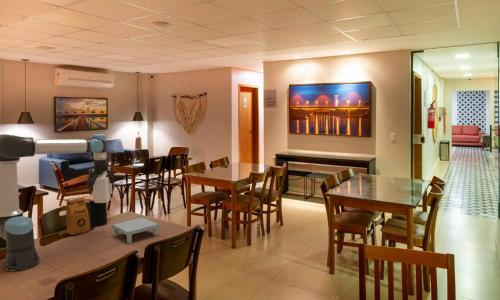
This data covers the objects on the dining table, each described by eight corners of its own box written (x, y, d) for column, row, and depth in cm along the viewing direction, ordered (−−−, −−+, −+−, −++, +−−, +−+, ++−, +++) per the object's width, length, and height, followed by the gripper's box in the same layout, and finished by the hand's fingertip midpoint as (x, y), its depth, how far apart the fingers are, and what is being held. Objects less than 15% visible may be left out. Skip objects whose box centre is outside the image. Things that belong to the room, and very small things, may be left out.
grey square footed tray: (128, 243, 209) (127, 232, 208) (112, 235, 223) (112, 224, 222) (159, 235, 223) (158, 224, 222) (142, 228, 237) (142, 217, 236)
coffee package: (92, 231, 231) (89, 197, 228) (71, 237, 222) (68, 201, 219) (85, 228, 238) (83, 195, 235) (65, 233, 229) (63, 199, 226)
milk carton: (106, 203, 222) (104, 172, 220) (94, 203, 222) (92, 172, 220) (110, 200, 229) (109, 170, 227) (99, 200, 230) (97, 170, 228)
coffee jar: (110, 221, 251) (108, 196, 249) (102, 226, 241) (100, 200, 239) (95, 221, 252) (93, 196, 250) (87, 226, 242) (85, 199, 240)
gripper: (83, 161, 213) (86, 199, 215) (120, 157, 228) (122, 192, 231) (79, 160, 218) (81, 197, 220) (115, 156, 234) (117, 191, 236)
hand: (102, 194), depth 225 cm, fingers closed on milk carton, 10 cm apart
